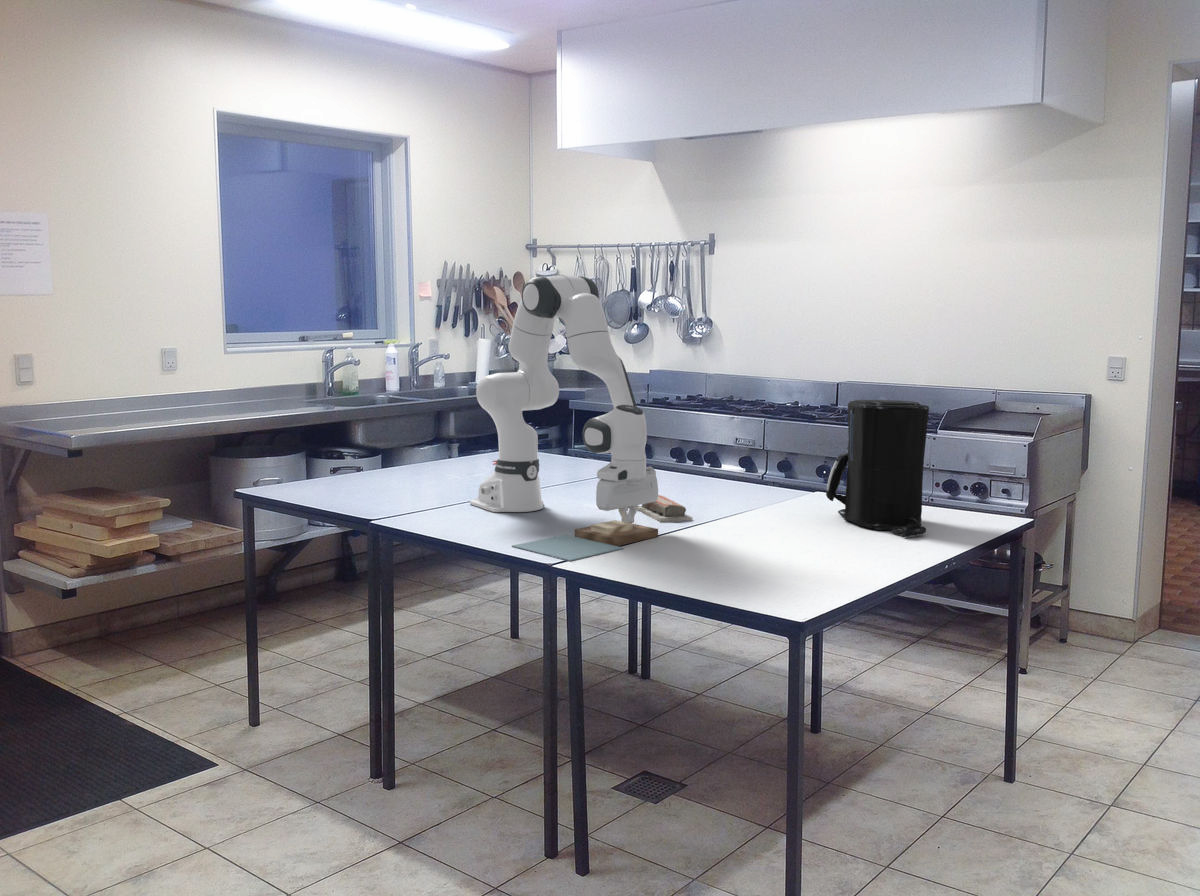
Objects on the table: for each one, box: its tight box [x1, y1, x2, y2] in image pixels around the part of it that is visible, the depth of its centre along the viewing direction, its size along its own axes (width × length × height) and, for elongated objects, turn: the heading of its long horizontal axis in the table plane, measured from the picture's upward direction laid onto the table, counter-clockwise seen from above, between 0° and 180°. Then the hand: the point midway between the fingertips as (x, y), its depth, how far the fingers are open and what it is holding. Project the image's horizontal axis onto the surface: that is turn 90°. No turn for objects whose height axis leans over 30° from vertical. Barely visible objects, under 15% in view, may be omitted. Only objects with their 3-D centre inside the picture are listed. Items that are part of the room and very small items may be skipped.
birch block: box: [590, 519, 634, 535], centre depth 261 cm, size 9×6×2 cm, turn 137°
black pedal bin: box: [825, 399, 930, 539], centre depth 280 cm, size 23×32×34 cm
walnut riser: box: [573, 523, 659, 547], centre depth 262 cm, size 14×16×2 cm
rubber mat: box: [511, 533, 624, 562], centre depth 250 cm, size 20×18×1 cm
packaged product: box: [637, 494, 694, 523], centre depth 291 cm, size 18×5×10 cm
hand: (627, 523), depth 265 cm, fingers closed
